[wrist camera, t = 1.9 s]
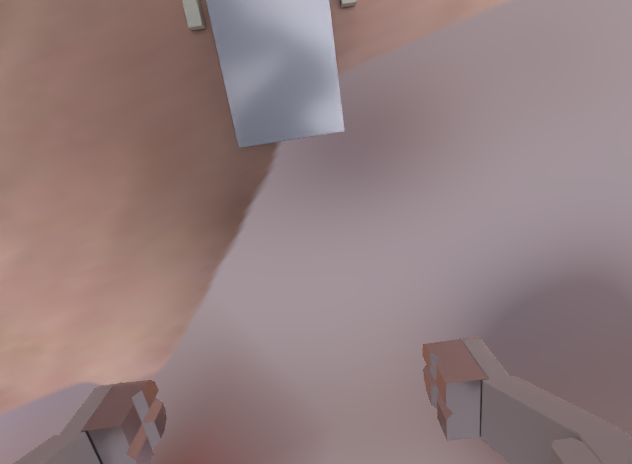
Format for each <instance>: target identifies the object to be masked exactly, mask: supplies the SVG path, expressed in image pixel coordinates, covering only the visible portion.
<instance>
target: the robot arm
mask: <svg viewBox="0 0 632 464" xmlns="http://www.w3.org/2000/svg"><path fill="white" fill-rule="evenodd" d="M423 358H424V360H425V362H426V364H427V365H426V366H425V368H424V369H423V372H424V382H425V387H426V391H427V394H428V397H429V400H430V402H431V405H433V406H434V407H436V408H437V418H438V421H439V423H440V426H441V428H442V430H443V433H444V435H445V437H446V440H447V441H449V440H459V439H470V438H480V437H481V440H482V441H484V442H485V443H486V444H487V445H488V446H490V447H491V448H492V449H493V450H494V451H496V452H497V453H498V454H499V455H500V456H501V457H503V458H504V459H505V460H506V461H507V462H509V463H510V464H632V438H631V437H630V436H629V435H628V434H627V433H626V432H625V431H624V430H622V429H620V428H618V427H616V426H614V425H612V424H610V423H608V422H606V421H604V420H602V419H600V418H598V417H596V416H594V415H592V414H591V413H588V412H587V411H585V410H583V409H581V408H578V407H576V406H575V405H573V404H570V403H568V402H567V401H565V400H562V399H561V398H559V397H557V396H555V395H553V394H550V393H549V392H546V391H545V390H543V389H541V388H539V387H537V386H535V385H532V384H531V383H529V382H527V381H525V380H523V379H521V378H518V377H517V376H511V377H510V376H509V375H508V373H507V372H506V371H505V370H504V368H503V367H502V366H501V364H500V363H499V362H498V360H497V359H496V358H495V357H494V355H493V354H492V353H491V351H490V350H489V349H488V348H487V346H486V345H485V344H484V342H483V341H482V340H481V338H479V337H478V336H473V337H467V338H460V339H458V340H451V341H443V342H436V343H428V344H423ZM158 391H159V390H158V388H157V385H156V383H155V382H154V381H152V380H145V381H136V382H126V383H117V384H110V385H102V386H99V387H97V388H95V389H94V390H93V392H92V393H91V394H90V395H89V397H88V398H87V399H86V401H85V402H84V403H83V404H82V406H81V407H80V408H79V410H78V411H77V412H76V414H75V415H74V416H73V418H72V419H71V420H70V422H69V423H68V424H67V425H66V427H65V428H64V429H63V431H62V432H61V433H60V435H54V436H52V437H51V438H49V439H48V440H47V441H45V442H44V443H42V444H41V445H39V446H38V447H37V448H35V449H34V450H32V451H31V452H29V453H28V454H26V455H25V456H23V457H22V458H21V459H19V460H18V461H16V462H15V463H13V464H150V463H151V461H152V458H153V456H154V453H153V450H152V447H153V446H154V445H155V444H156V443H157V442H158V441H160V439H161V438H162V435H163V433H164V430H165V425H166V410H165V407H164V404H163V402H161V401H160V400H158V399H157V398H156V395H157V393H158Z"/></svg>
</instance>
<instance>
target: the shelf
mask: <svg viewBox="0 0 632 464" xmlns="http://www.w3.org/2000/svg"><path fill="white" fill-rule="evenodd" d="M182 2H183V7H184V11H185V15H186V20H187V24H188V28H190V29H191V30H198V29H205V28H206V26H205V21H204V17H203V12H202V8H201V3H200V0H182ZM340 2H341V8H342V7H349V6H355V4H356V2H357V1H356V0H340Z"/></svg>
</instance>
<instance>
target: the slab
mask: <svg viewBox="0 0 632 464" xmlns="http://www.w3.org/2000/svg"><path fill="white" fill-rule="evenodd" d="M206 3H207V7H208V12H209V16H210V21H211V25H212V30H213V34H214V39H215V43H216V48H217V52H218V57H219V61H220V66H221V70H222V75H223V79H224V84H225V88H226V93H227V97H228V102H229V106H230V111H231V115H232V120H233V124H234V129H235V133H236V138H237V142H238V147H239V148H242V147H248V146H254V145H261V144H267V143H273V142H280V141H286V140H292V139H299V138H305V137H311V136H318V135H324V134H330V133H336V132H343V131H345V130H344V122H343V114H342V105H341V96H340V88H339V79H338V71H337V63H336V54H335V46H334V37H333V29H332V20H331V12H330V3H329V0H206Z"/></svg>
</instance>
